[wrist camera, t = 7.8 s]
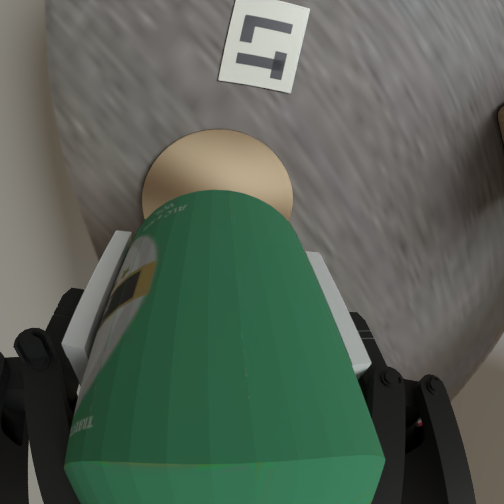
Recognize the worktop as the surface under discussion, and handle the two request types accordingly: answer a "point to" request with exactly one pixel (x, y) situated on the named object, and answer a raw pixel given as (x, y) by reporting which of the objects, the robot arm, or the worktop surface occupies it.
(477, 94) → the worktop surface
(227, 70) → the sticker
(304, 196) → the worktop surface
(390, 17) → the worktop surface
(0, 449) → the robot arm
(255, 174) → the coaster
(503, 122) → the wooden block
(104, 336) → the beverage can
